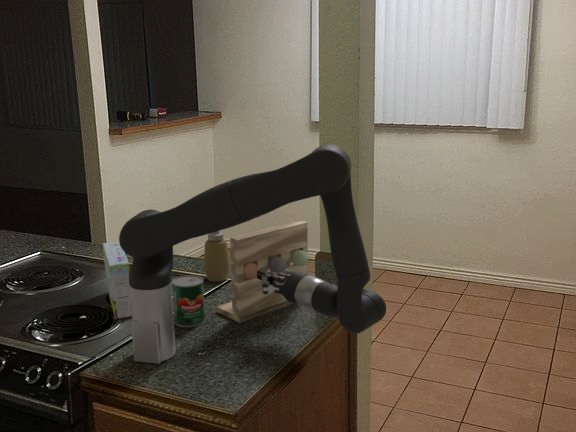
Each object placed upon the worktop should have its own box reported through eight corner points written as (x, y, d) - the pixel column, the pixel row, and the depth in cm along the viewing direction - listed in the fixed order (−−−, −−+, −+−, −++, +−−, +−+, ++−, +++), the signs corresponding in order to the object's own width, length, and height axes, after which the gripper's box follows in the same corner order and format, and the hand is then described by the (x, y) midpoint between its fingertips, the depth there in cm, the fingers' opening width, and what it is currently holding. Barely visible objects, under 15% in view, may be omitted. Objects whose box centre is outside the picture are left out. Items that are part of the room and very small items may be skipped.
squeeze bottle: (202, 284, 188) (200, 225, 184) (205, 274, 196) (202, 218, 191) (230, 283, 188) (227, 225, 184) (231, 274, 196) (229, 218, 192)
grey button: (286, 271, 165) (286, 257, 164) (275, 275, 163) (275, 260, 162) (276, 267, 168) (276, 253, 167) (265, 271, 165) (264, 256, 164)
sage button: (308, 264, 170) (308, 250, 169) (297, 268, 168) (297, 253, 167) (298, 261, 173) (298, 247, 172) (287, 264, 171) (287, 250, 170)
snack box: (106, 292, 182) (101, 242, 179) (125, 289, 184) (121, 240, 181) (113, 320, 163) (108, 265, 159) (135, 317, 165) (131, 262, 161)
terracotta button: (258, 277, 161) (258, 262, 160) (246, 280, 159) (245, 265, 158) (248, 273, 164) (248, 258, 163) (236, 276, 162) (236, 262, 161)
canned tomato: (187, 330, 157) (185, 288, 154) (167, 321, 162) (165, 281, 159) (211, 320, 163) (209, 279, 160) (191, 312, 168) (189, 273, 165)
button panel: (307, 298, 176) (307, 222, 171) (240, 323, 161) (237, 240, 155) (283, 289, 183) (282, 215, 178) (216, 311, 168) (213, 232, 162)
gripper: (327, 269, 149) (278, 253, 161) (286, 283, 140) (237, 265, 153) (327, 299, 151) (279, 281, 163) (287, 315, 142) (238, 294, 154)
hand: (259, 273), depth 158 cm, fingers closed
